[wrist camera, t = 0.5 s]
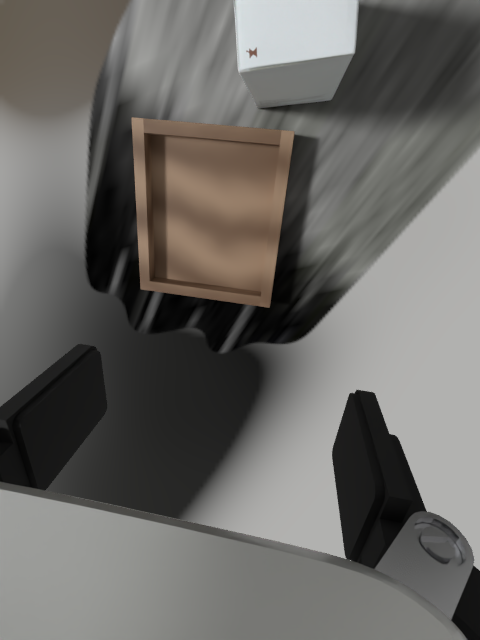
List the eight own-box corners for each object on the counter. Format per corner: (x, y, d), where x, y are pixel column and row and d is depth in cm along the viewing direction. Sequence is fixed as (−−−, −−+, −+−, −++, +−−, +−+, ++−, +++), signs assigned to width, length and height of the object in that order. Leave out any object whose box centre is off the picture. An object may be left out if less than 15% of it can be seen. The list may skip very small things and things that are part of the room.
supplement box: (333, 102, 30) (356, 59, 19) (256, 109, 31) (234, 74, 20) (338, -2, 27) (370, -128, 16) (252, 12, 28) (224, -96, 17)
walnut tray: (142, 121, 33) (131, 117, 31) (294, 134, 31) (294, 131, 29) (149, 282, 41) (140, 289, 39) (270, 299, 39) (269, 307, 37)
